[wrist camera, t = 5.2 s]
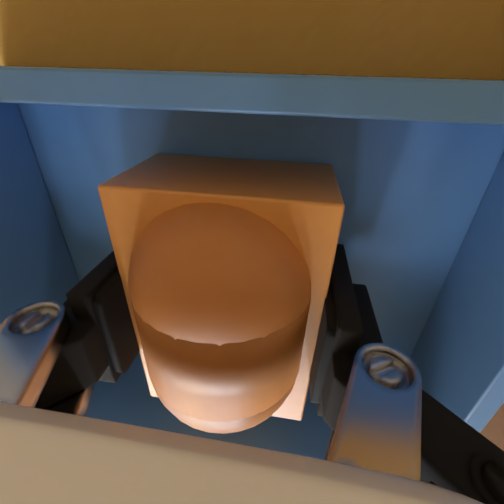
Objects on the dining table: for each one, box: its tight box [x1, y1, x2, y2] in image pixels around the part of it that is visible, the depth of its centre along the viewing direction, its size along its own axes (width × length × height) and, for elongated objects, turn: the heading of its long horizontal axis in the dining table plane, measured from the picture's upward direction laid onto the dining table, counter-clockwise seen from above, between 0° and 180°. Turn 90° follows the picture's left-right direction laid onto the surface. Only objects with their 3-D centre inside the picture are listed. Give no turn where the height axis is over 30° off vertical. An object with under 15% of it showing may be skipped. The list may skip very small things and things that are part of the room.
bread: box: [98, 153, 345, 434], centre depth 9 cm, size 5×8×5 cm
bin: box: [0, 66, 504, 460], centre depth 10 cm, size 15×12×4 cm
